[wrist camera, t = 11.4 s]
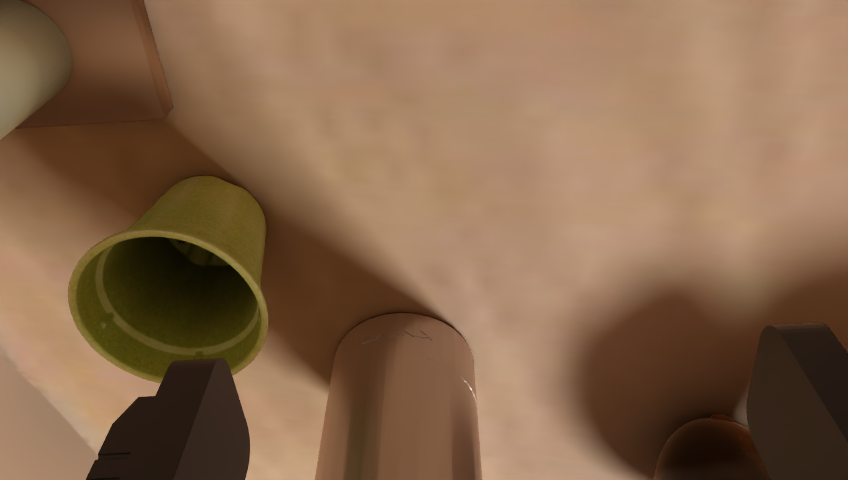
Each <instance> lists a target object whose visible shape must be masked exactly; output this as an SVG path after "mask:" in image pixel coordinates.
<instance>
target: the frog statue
mask: <svg viewBox="0 0 848 480" xmlns="http://www.w3.org/2000/svg"><path fill="white" fill-rule="evenodd" d="M653 480H771V478H770V476H769V474H768V472H767V470H766V468H765V466H764V463H763V461H762V459H761V457H760V455H759V453H758V451H757V449H756V447H755V445H754V442H753V440H752V437H751V434H750V430H749V428H747V427H744V426H743V425H741V424H739V423H738V422H736V421H735V420H733V419H732V418H730V417H729V416H727V415H724V414H714V415H713V416H711V418H703V419H696V420H693V421H690V422H688V423H686V424H684V425H682V426H681V427H680V428H678V429H677V430H676V431H675V432H674V433H673V434H672V435H671V436H670V437H669V438H668V440H667V442H666V443H665V445H664V447H663V449H662V451H661V454H660V456H659V459H658V462H657V465H656V469H655V474H654V479H653Z"/></svg>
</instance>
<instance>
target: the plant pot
mask: <svg viewBox="0 0 848 480" xmlns="http://www.w3.org/2000/svg"><path fill="white" fill-rule="evenodd" d="M265 238H266V222H265V217H264V214H263V211H262V209H261V207H260V206H259V204H258V203H257V201H256V200H255V199H254V198H253V196H252V195H251V194H250V193H248V192H247V191H246V190H245V189H243V188H242V187H239V186H236V185H233V184H230V183H228V182H226V181H224V180H221V179H219V178H217V177H214V176H195V177H190V178H187V179H184V180H182V181H180V182H178V183H176V184H175V185H173V186H172V187H171V188H170V189H169V190H168V191H167V192H166V193H165V194H164V195H162V196H161V197H160V199H159V200H158V201H157V202H156V203H155V204H154V205H153V206H152V207H151V208H150V209H149V210H148V211H147V212H146V213H145V214H144V215H143V216H142V217H141V218H140V219H138V220H137V221H136V222H135V223H134V224H133V225H132V226H131V227H130V228H129V229H128V230H126V231H123V232H120V233H117V234H115V235H112V236H110V237H108V238H106V239H104V240H103V241H101V242H99V243H98V244H96V245H95V246H94V247H92V248H91V249H90V250H89V251H88V252H87V253H86V254H85V255H84V256H83V257H82V258H81V259H80V261H79V262H78V264H77V265H76V267H75V269H74V271H73V273H72V276H71V279H70V281H69V288H68V302H69V307H70V311H71V314H72V317H73V320H74V322H75V324H76V326H77V328H78V330H79V332H80V333H81V334H82V336H83V337H84V338H85V340H86V341H87V342H88V343H89V344H90V346H91V347H92V348H93V349H94V350H95V351H96V352H97V353H99V354H100V355H101V356H102V357H104V358H105V359H106V360H108V361H109V362H111V363H112V364H114V365H115V366H117V367H119V368H120V369H122V370H124V371H126V372H129V373H131V374H133V375H135V376H137V377H140V378H143V379H146V380H149V381H153V382H157V383H161V382H162V380H163V378H164V375H165V373H166V371H167V369H168V367H169V365H170V364H171V363H172V362H173V361H176V360H192V359H208V358H224V359H225V360H226V361H227V363H228V365H229V367H230V370H231V374H232V376H233V375H235V374H236V373H238V372H239V371H241V370H242V369H243V368H245V367H246V366H247V365H248V364H250V363H251V362H252V361H253V360H254V358H255V357H256V356H257V355H258V353H259V352H260V350H261V348H262V346H263V344H264V341H265V339H266V335H267V329H268V309H267V304H266V301H265V298H264V295H263V293H262V290H261V276H262V266H263V256H264V248H265ZM178 240H183V241H184V242H185V243H184V244H183V243H181V242H179V241H178Z"/></svg>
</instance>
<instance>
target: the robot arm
mask: <svg viewBox="0 0 848 480" xmlns="http://www.w3.org/2000/svg"><path fill="white" fill-rule="evenodd" d="M747 420H748V426H749V430H750V434H751V437H752V440H753V442H754V445H755V447H756V449H757V451H758V453H759V455H760V457H761V459H762V461H763V463H764V466H765V468H766V470H767V472H768V474H769V476H770V478H771V480H848V353H847V352H846V350H845V349H844V348H843V346H842V345H841V343H840V342H839V341H838V339H837V338H836V336H835V335H834V334H833V332H832V331H831V330H830V328H829V327H828V326H826V325H825V324H823V323H820V322H816V323H800V324H784V325H769V326H766V327H765V328H764V329H763V331H762V333H761V337H760V341H759V346H758V351H757V355H756V360H755V365H754V370H753V374H752V379H751V384H750V389H749V393H748V398H747ZM249 457H250V438H249V431H248V426H247V423H246V419H245V416H244V413H243V410H242V406H241V403H240V400H239V397H238V393H237V390H236V387H235V384H234V380H233V377H232V374H231V370H230V367H229V365H228V363H227V361H226V360H225V359H224V358H208V359H192V360H176V361H173V362H172V363H171V364H170V365H169V367H168V369H167V371H166V373H165V375H164V378H163V380H162V382H161V385H160V387H159V389H158V391H157V394H156V396H149V397H138V398H137V399H136V400H135V401H134V402H133V403H132V404H131V405H130V407H129V408H128V409H127V410H126V411H125V412H124V413H123V414H122V415H121V416H120V417H119V418H118V419H117V420H116V421H115V422H114V423H113V424H112V426H111V428H110V430H109V432H108V434H107V436H106V439H105V441H104V443H103V445H102V447H101V449H100V451H99V453H98V460H95V461H94V464H93V466H92V468H91V470H90V472H89V474H88V476H87V478H86V480H245V478H246V474H247V470H248V465H249ZM315 480H482V471H481V457H480V443H479V430H478V416H477V400H476V387H475V374H474V360H473V356H472V353H471V350H470V348H469V346H468V345H467V343H466V342H465V340H464V338H463V337H462V336H461V335H459V334H458V333H457V332H456V331H455V330H454V329H453V328H451V327H450V326H448V325H446V324H445V323H443V322H441V321H439V320H436V319H433V318H431V317H428V316H423V315H418V314H413V313H394V314H387V315H381V316H378V317H375V318H372V319H368V320H367V321H365V322H363V323H361V324H359V325H357V326H356V327H354V328H353V329H352V330H351V331H350V332H349V333H347V334H346V335H345V337H344V338H343V340H342V341H341V342H340V344H339V346H338V348H337V351H336V353H335V357H334V364H333V370H332V376H331V383H330V389H329V395H328V400H327V406H326V412H325V419H324V425H323V431H322V438H321V444H320V450H319V457H318V463H317V469H316V476H315Z"/></svg>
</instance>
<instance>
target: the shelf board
mask: <svg viewBox="0 0 848 480" xmlns="http://www.w3.org/2000/svg"><path fill="white" fill-rule="evenodd" d="M20 1H23V2H26V3H28V4H30V5H32V6H34V7H36V8H37V9H39V10H40V11H42V12H43V13H44V14H45V15H47V16H48V17H49V18H50V19H51V20H52V21H53V22H54V23H55V24H56V26H57V27H58V28H59V29H60V31H61V32H62V34H63V36H64V37H65V39H66V41H67V44H68V46H69V49H70V53H71V58H72V70H71V75H70V78H69V80H68V82H67V84H66V85H65V87H64V88H63V89H62V90H61V91H60V92H59V93H57V94H56V95H55V96H54V97H53V98H51V99H50V100H49V101H48V102H46V103H45V104H44V105H43V106H42V107H40V108H39V109H38V110H37V111H35V112H34V113H33V114H32V115H30V116H29V117H28V118H27V119H26V120H24V121H23V122H22V123H21V124H19V125H18V126H17V127H16V128H15V129H18V128H33V127H48V126H64V125H79V124H94V123H110V122H125V121H140V120H156V119H165V117H166V116H167V115H168V113H169V112H170V111H171V109H172V108H173V105H172V101H171V98H170V94H169V91H168V87H167V84H166V80H165V76H164V73H163V69H162V66H161V62H160V58H159V55H158V51H157V48H156V44H155V40H154V37H153V33H152V30H151V26H150V22H149V19H148V15H147V12H146V8H145V4H144V1H143V0H20Z"/></svg>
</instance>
